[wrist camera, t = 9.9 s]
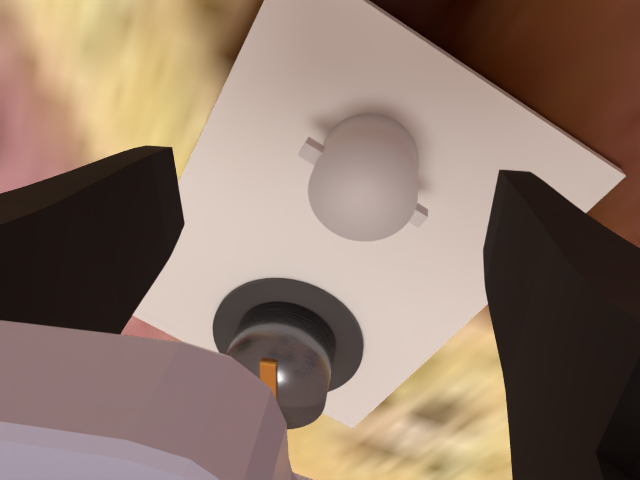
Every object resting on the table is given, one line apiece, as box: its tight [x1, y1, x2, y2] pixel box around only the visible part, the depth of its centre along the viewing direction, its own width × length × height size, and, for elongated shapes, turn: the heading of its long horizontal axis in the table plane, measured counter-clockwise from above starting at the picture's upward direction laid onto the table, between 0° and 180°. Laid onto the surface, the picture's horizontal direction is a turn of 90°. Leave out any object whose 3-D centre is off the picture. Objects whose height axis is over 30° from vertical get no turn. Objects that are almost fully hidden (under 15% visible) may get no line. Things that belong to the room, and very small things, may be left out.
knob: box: [226, 302, 336, 429], centre depth 26 cm, size 5×5×4 cm
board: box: [133, 0, 626, 429], centre depth 24 cm, size 15×20×4 cm
